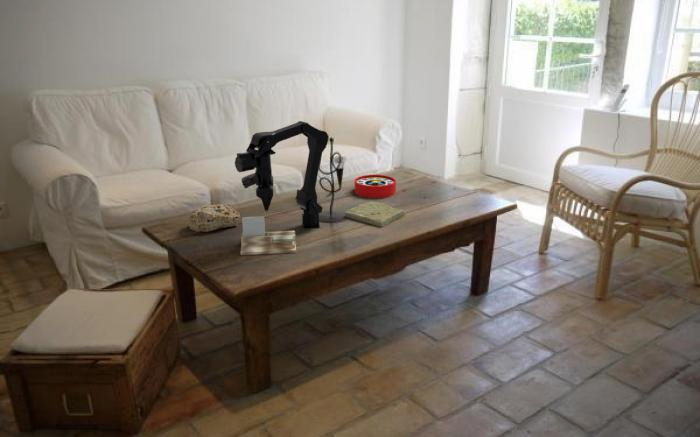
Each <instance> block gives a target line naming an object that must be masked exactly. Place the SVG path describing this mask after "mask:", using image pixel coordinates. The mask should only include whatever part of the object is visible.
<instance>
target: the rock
mask: <svg viewBox="0 0 700 437" xmlns="http://www.w3.org/2000/svg"><path fill="white" fill-rule="evenodd" d="M240 218H241V214H240V212H239V211H237V210H236V209H234V208H233V207H232V205H231V204H225V203H220V204H208V205H201V206H199V208H196V209H195V210H193V211H192V212H191V213H190V214H189V217H188V220H189V221H188V222H189V226H188V227H189V230H191V231H195V232H196V233H199V232H203V233H204V232H205V233H206V232H207V233H208V232H212V231H217V230H220V229H221V230H222V229H225V228H227V227H228V228H229V227H236V226H237V227H238V225H239V222H240Z"/></svg>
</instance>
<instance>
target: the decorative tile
mask: <svg viewBox="0 0 700 437" xmlns="http://www.w3.org/2000/svg"><path fill="white" fill-rule="evenodd" d="M344 217H345V218H349V219H352V220H356V221H358V222H362V223H366V224H370V225H373V226H377V227H380V228H384V227H385V226H387V225H389V224H391V223H393V222H395V221H397V220H400V219H401V218H403V217H405V212H404V210H403V209H400V208H395V207H392V206H390V205H388V204H386V203H383V202H381V203H380V202H377V201H371V200H369V201H367V202H365V203H360V204H357V205H356V206H355V207H352V208H350V209H348V210H346V211H345V212H344Z"/></svg>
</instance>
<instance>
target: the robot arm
mask: <svg viewBox="0 0 700 437" xmlns="http://www.w3.org/2000/svg"><path fill="white" fill-rule="evenodd" d="M299 135H303V136H305V137H306V138H307V140H306V142H307V143H306V144H307V149H308V157H307V162H306V163H307V164H306V168H305V172H304V173H305V174H304V179H303V185H302V187H301V188H300V189H296V197H295V200H296V205H297V206H298V207H299V208H300V210H302V212H303V213H302V214H301V221H302V223H301V224H302V226H303V228H304V229H310V228H311V229H312V228H313V229H314V228H320V227H321V226H320V224H321V223H320V214H321V213H322V212H323V206H322V205H320V204H319V203H318V195H317V194H318V193H317V191H316V186H317V180H318V175H319V169H320V165H321V158H322V154H323V152H324V151H325V149H326V148H327V145H328V143H329V138H330V136H329V134H328V132H326V130H321V129H318V128H316V127H314V126H312V125H311V124H310V123H309V122H306V121H302V120H299V121H297V122H295V123H293V124H290V125H289V124H288V125H287V126H284V127H281V128H279V129H276V130H272V131H260V132H256V133H254V134H253V135H252V137H251V141H250V143H249V145H248V146H247V148H246V151H245V152H239V153H236V157H235V160H234V166H235V169H236V171H237V172H238V173H245V172H248V171H253V170H255V171H254V172H253V173H250V174H248V175H245V176H243V177H242V178H241V183H242V186H243V188H244V189H247V188H249V187H251V186H254V185H256V186H257V187H256V188H255V194H256V197H257V198H259V199H260V200H261V202H262V205H263V207H264V208H263V209H264V211H269V208H270V205H271V202H272V200H273V197H274V176H273V172H272V171H273V170H272V161H271V160H272V159H271V156H273V155H276V151H274V150H273V149H272V148H274V147H275V146H276V145H277V144H278V143H280V142H282V141H286V140H288V139H291V138H293V137H296V136H299Z"/></svg>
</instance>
